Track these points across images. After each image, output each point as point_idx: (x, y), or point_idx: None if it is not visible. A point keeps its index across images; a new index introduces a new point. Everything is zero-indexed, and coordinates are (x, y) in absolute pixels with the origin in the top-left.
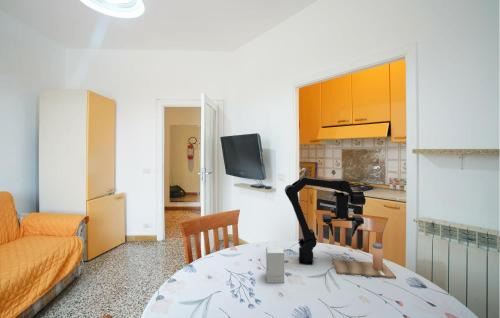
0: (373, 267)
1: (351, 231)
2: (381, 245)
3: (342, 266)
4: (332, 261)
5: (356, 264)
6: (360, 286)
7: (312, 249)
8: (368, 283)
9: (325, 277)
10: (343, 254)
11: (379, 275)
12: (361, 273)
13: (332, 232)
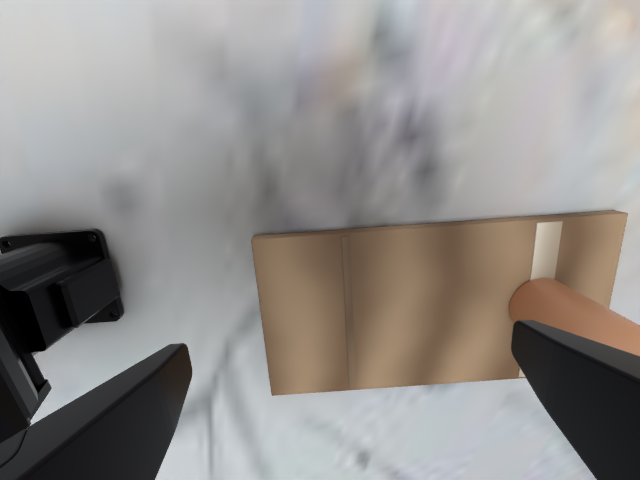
0: (513, 317)
1: (590, 364)
2: None
3: (314, 327)
4: (254, 262)
5: (416, 278)
6: (372, 461)
7: (35, 408)
8: (418, 431)
9: (211, 428)
10: (363, 70)
11: (507, 378)
12: (411, 382)
13: (148, 463)
